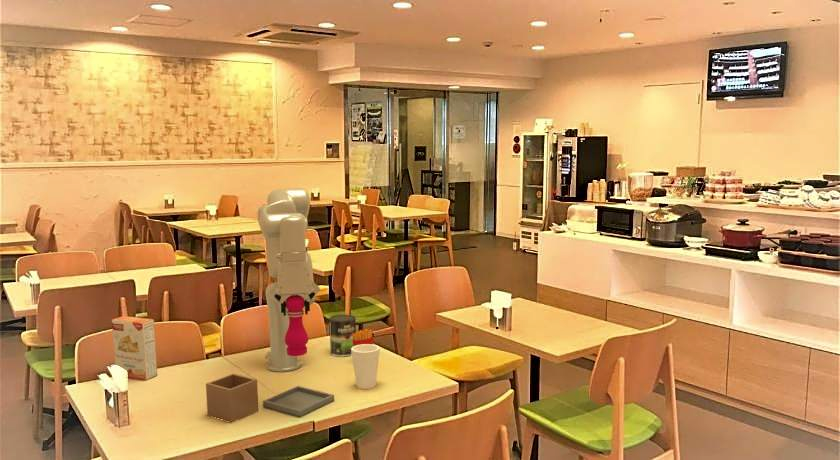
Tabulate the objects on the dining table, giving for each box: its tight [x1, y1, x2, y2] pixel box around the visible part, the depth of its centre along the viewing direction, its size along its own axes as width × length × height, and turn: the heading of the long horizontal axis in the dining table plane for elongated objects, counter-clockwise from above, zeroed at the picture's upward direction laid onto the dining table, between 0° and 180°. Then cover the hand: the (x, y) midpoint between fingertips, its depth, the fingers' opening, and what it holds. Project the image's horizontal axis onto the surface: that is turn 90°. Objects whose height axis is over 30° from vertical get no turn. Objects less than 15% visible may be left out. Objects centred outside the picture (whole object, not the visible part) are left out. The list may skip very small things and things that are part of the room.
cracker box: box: [111, 315, 158, 381], centre depth 240 cm, size 14×6×21 cm, turn 68°
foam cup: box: [350, 344, 381, 390], centre depth 228 cm, size 10×9×13 cm
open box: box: [205, 373, 259, 424], centre depth 206 cm, size 11×11×10 cm
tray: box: [262, 385, 335, 418], centre depth 214 cm, size 16×16×2 cm
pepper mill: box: [285, 294, 309, 357], centre depth 210 cm, size 7×7×20 cm
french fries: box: [352, 328, 374, 346], centre depth 254 cm, size 8×4×12 cm, turn 128°
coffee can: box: [328, 314, 357, 358], centre depth 265 cm, size 10×10×14 cm
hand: (295, 313), depth 210 cm, fingers closed on pepper mill, 6 cm apart
